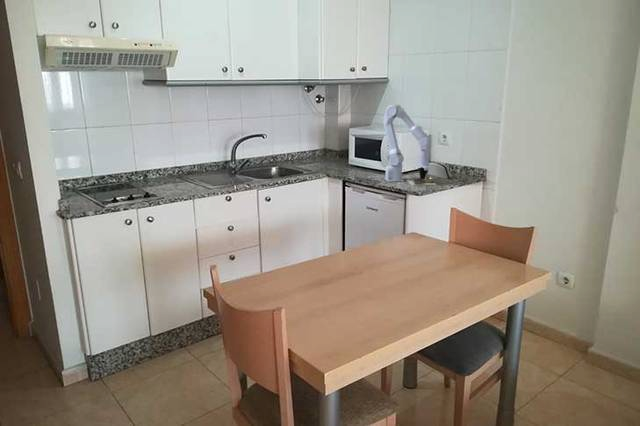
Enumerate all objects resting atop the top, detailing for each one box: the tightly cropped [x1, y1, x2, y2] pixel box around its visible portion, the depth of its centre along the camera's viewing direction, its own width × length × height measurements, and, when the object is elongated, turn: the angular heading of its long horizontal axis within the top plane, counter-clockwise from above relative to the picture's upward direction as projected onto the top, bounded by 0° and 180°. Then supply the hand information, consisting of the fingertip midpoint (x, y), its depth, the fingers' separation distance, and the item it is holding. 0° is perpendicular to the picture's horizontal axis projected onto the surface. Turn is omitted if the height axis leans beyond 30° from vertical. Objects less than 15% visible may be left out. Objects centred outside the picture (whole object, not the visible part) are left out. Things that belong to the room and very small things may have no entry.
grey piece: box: [427, 161, 453, 179], centre depth 300 cm, size 17×5×10 cm, turn 29°
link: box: [412, 178, 435, 183], centre depth 280 cm, size 12×4×2 cm, turn 82°
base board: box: [406, 179, 437, 187], centre depth 282 cm, size 14×13×1 cm
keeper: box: [412, 176, 421, 184], centre depth 278 cm, size 4×6×3 cm, turn 6°
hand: (422, 180), depth 282 cm, fingers closed, pressing on link
